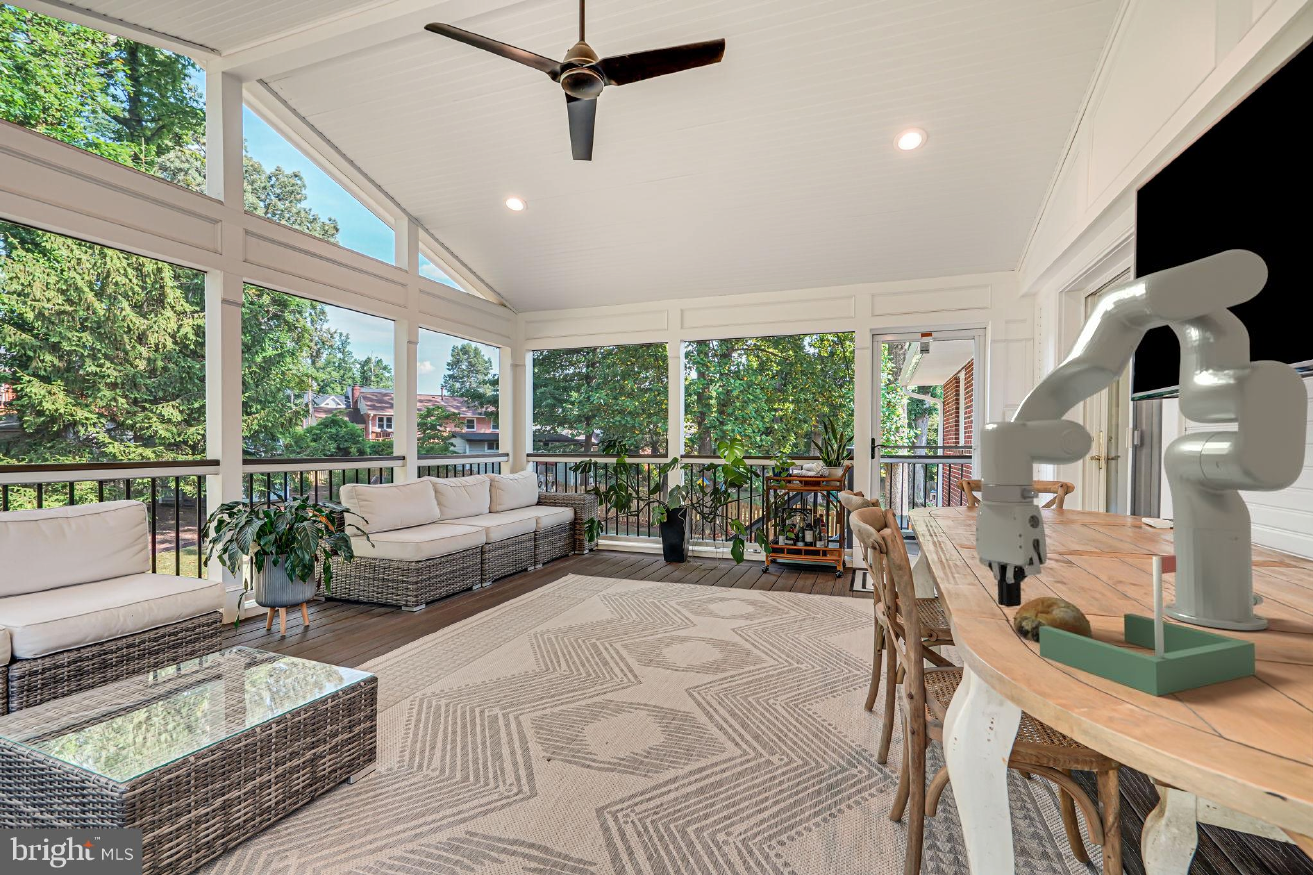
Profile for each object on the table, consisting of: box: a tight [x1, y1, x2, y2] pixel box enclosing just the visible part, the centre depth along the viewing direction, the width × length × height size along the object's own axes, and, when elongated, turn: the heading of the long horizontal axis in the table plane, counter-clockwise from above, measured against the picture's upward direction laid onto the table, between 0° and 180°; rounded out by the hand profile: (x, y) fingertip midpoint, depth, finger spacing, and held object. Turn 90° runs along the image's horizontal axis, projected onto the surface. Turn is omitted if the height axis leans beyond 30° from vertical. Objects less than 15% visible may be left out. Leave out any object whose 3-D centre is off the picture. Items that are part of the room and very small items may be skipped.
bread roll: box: [1012, 596, 1094, 644], centre depth 90 cm, size 10×10×8 cm
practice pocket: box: [1039, 554, 1256, 697], centre depth 79 cm, size 19×14×16 cm
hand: (1009, 604), depth 97 cm, fingers closed
